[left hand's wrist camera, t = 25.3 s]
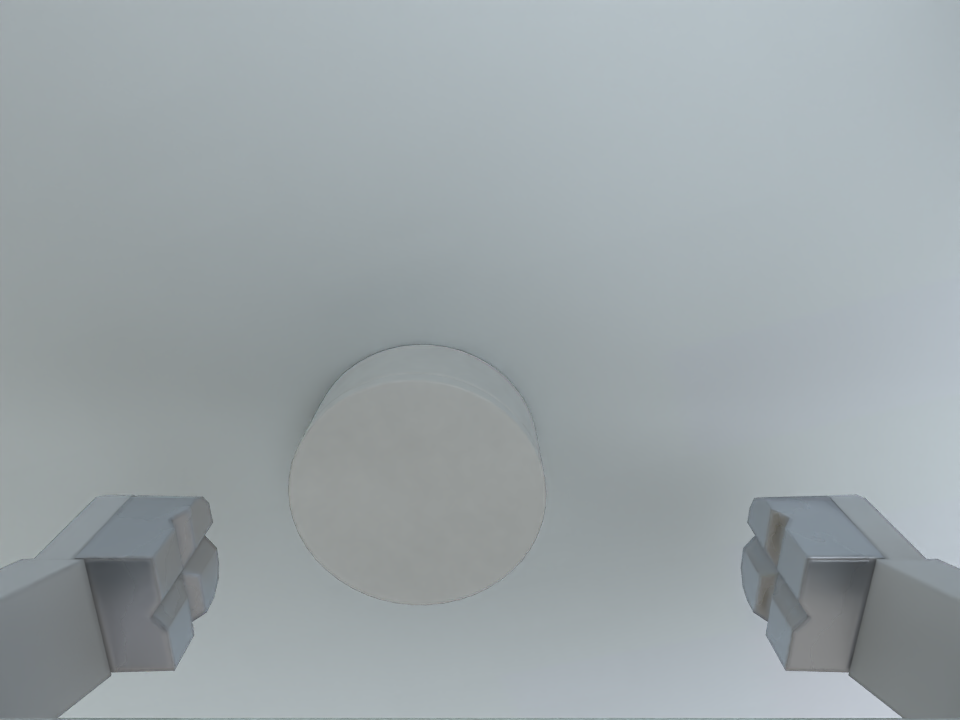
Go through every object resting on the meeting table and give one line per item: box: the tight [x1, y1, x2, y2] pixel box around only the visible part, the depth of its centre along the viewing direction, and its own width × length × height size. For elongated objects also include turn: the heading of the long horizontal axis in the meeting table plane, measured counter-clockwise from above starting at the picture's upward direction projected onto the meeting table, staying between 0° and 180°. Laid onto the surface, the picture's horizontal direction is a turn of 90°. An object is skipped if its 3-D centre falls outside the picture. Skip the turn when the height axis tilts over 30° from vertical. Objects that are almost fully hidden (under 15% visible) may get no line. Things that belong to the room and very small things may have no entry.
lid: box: [288, 345, 546, 605], centre depth 13 cm, size 5×5×2 cm
